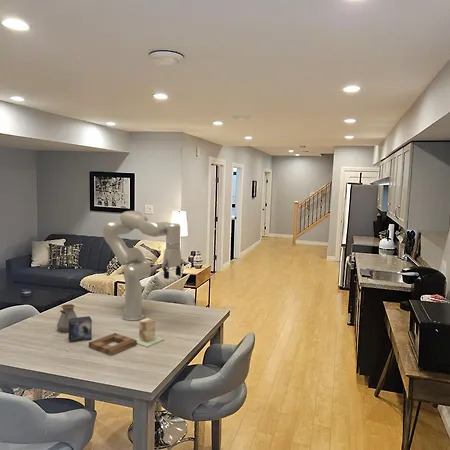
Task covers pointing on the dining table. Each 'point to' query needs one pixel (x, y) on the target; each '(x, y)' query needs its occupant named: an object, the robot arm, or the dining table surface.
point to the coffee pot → (66, 317)
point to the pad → (148, 344)
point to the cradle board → (103, 345)
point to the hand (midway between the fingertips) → (172, 276)
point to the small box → (80, 329)
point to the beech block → (147, 330)
